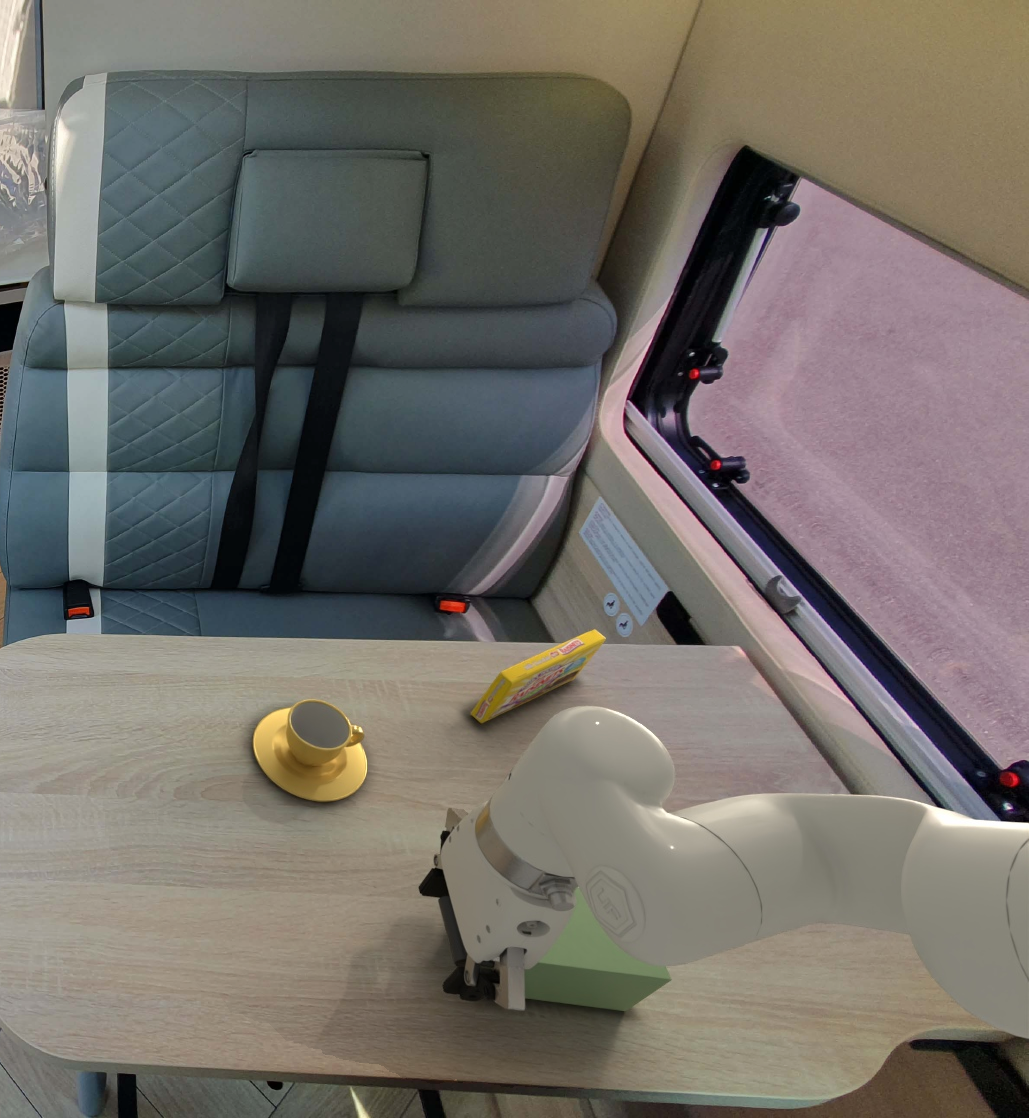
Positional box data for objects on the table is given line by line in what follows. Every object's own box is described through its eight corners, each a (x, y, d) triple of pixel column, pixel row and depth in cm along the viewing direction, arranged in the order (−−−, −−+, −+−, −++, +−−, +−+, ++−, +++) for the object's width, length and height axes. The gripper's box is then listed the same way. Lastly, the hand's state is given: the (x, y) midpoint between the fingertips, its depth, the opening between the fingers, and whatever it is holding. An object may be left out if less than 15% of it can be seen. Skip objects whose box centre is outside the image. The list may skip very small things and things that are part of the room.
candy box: (482, 727, 90) (512, 683, 85) (468, 714, 91) (496, 669, 86) (575, 682, 95) (608, 637, 90) (560, 670, 96) (592, 625, 91)
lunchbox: (676, 979, 63) (476, 953, 64) (625, 1013, 68) (441, 989, 69) (636, 890, 69) (452, 868, 70) (592, 928, 74) (421, 906, 75)
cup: (265, 803, 82) (276, 774, 79) (242, 709, 91) (251, 678, 88) (381, 803, 83) (398, 774, 79) (346, 709, 92) (360, 679, 88)
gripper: (639, 970, 52) (524, 1056, 64) (545, 746, 65) (464, 853, 77) (520, 956, 53) (428, 1044, 65) (449, 737, 66) (383, 844, 78)
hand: (448, 939), depth 71 cm, fingers open, 7 cm apart
